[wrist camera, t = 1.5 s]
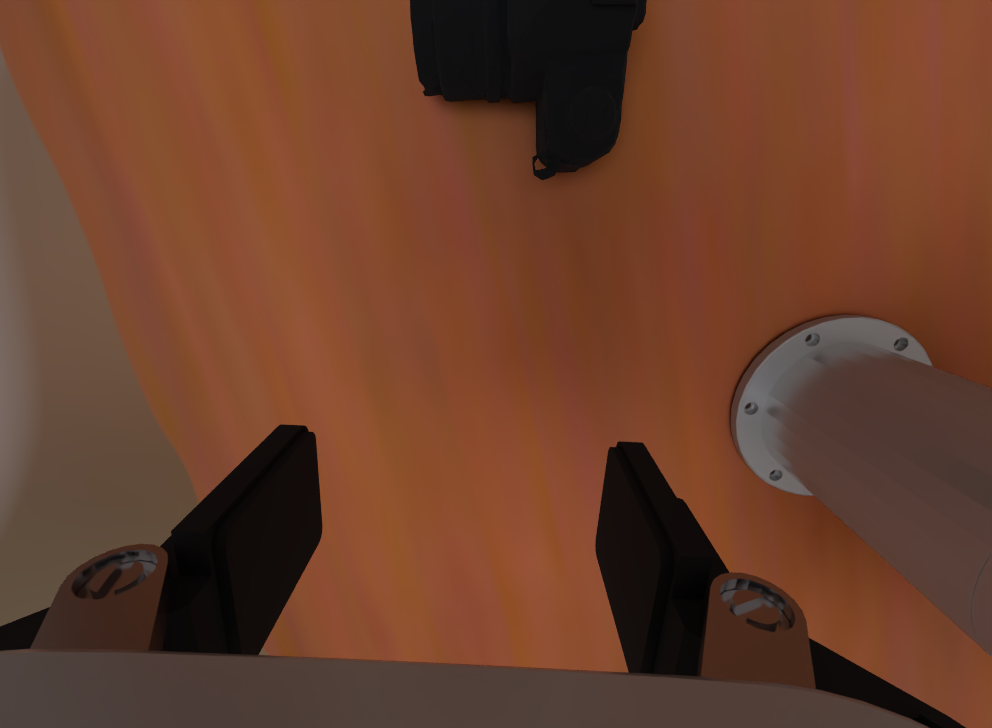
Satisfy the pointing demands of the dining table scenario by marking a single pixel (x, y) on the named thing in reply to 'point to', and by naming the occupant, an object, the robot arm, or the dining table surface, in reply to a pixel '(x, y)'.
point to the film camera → (534, 65)
